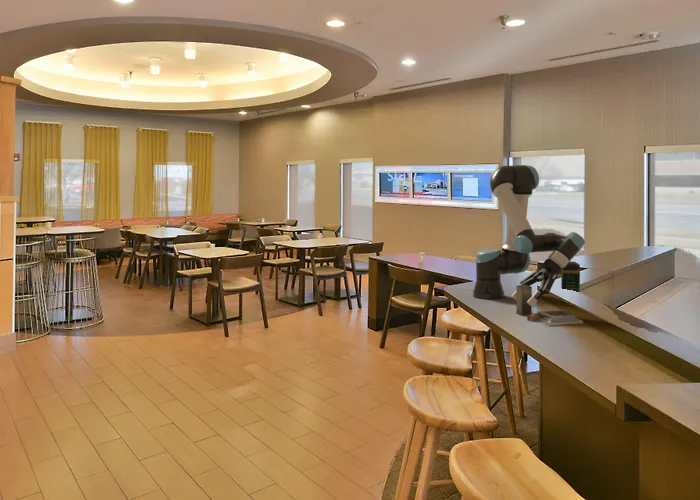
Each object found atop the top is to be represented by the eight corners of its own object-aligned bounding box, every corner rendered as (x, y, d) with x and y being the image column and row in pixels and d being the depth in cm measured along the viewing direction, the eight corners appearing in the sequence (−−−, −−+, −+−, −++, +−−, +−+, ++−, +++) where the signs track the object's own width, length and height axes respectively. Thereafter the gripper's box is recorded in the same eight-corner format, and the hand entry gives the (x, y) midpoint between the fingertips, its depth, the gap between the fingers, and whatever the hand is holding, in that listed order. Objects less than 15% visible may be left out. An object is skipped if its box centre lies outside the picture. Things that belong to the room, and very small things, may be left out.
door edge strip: (527, 320, 204) (527, 315, 204) (553, 314, 212) (553, 309, 212) (532, 321, 202) (532, 316, 201) (558, 315, 210) (558, 310, 209)
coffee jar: (579, 303, 231) (580, 263, 229) (560, 302, 234) (561, 262, 232) (579, 299, 239) (580, 260, 238) (561, 298, 243) (561, 260, 241)
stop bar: (516, 313, 216) (516, 285, 215) (526, 312, 216) (526, 285, 215) (521, 315, 211) (521, 287, 210) (531, 315, 212) (531, 286, 211)
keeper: (530, 317, 207) (530, 310, 207) (562, 315, 209) (562, 308, 209) (548, 326, 194) (548, 318, 193) (582, 323, 196) (582, 315, 195)
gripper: (578, 273, 202) (542, 313, 201) (545, 266, 226) (513, 301, 226) (565, 261, 201) (530, 301, 200) (533, 254, 225) (502, 290, 224)
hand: (521, 301), depth 213 cm, fingers open, 13 cm apart
